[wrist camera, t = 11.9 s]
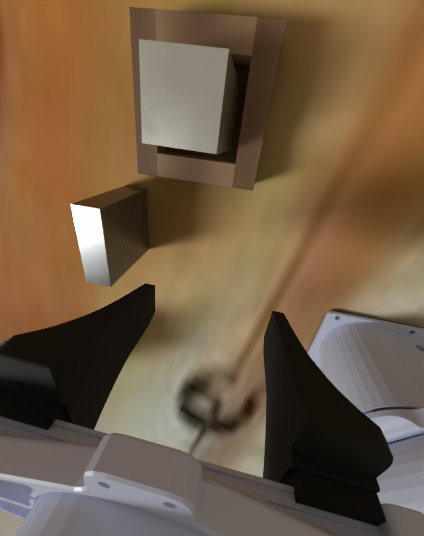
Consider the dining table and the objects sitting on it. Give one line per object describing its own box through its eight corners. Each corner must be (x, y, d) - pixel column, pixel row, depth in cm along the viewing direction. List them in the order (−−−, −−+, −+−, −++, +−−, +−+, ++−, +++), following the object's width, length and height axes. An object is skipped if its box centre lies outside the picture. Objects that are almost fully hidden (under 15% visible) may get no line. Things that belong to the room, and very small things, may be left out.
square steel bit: (239, 84, 16) (228, 48, 9) (230, 149, 18) (216, 154, 12) (183, 77, 16) (138, 39, 10) (180, 142, 18) (141, 142, 12)
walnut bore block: (281, 41, 14) (286, 19, 12) (253, 183, 18) (253, 190, 16) (151, 30, 15) (129, 7, 12) (154, 169, 19) (138, 173, 17)
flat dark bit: (146, 188, 20) (99, 209, 14) (148, 249, 23) (110, 286, 17) (125, 185, 20) (70, 204, 14) (130, 245, 23) (86, 281, 17)
